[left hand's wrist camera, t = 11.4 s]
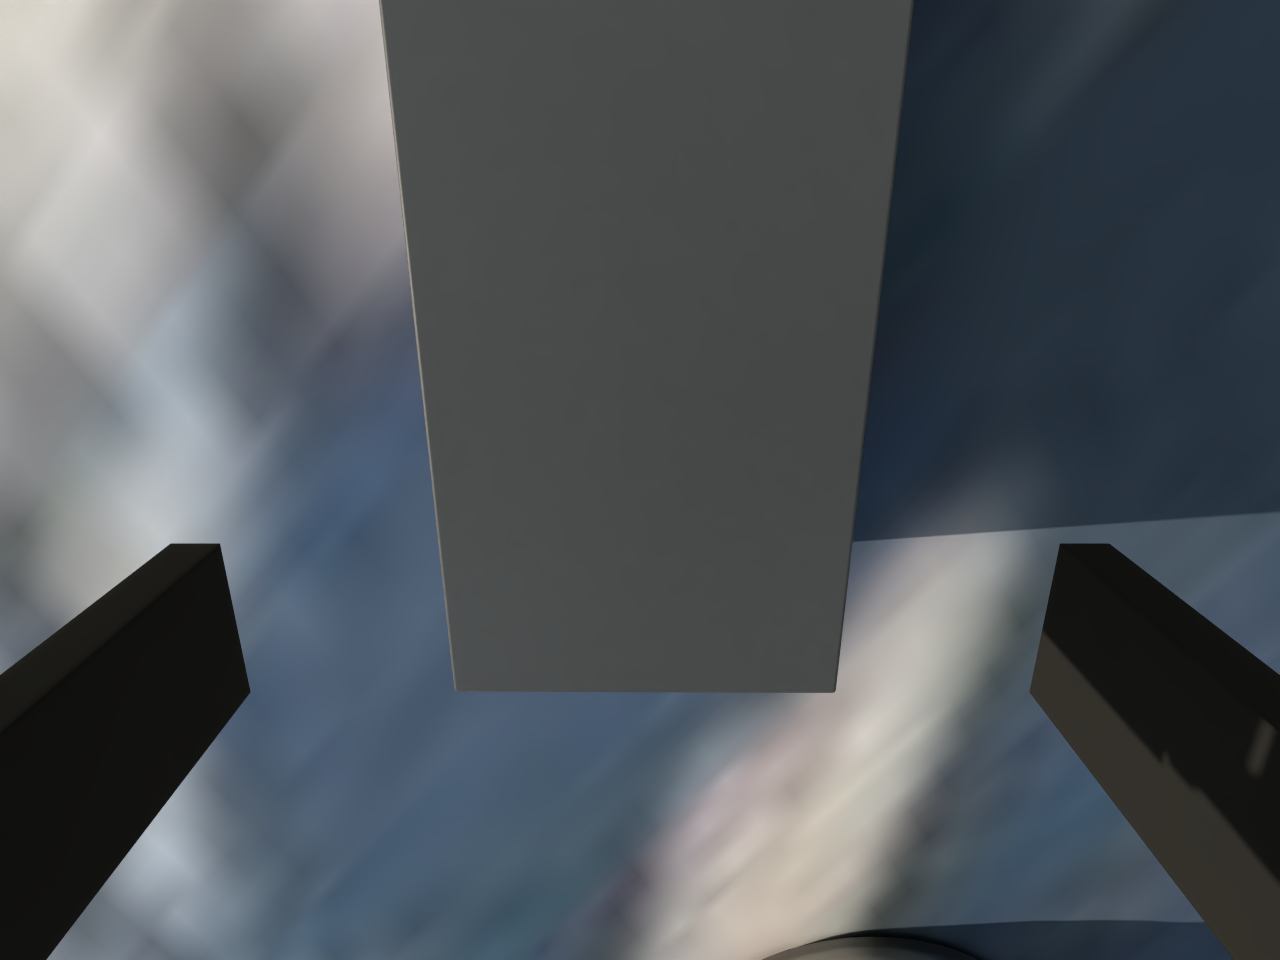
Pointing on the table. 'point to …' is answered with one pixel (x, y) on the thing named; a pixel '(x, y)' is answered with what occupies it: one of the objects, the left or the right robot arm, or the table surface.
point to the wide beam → (645, 326)
